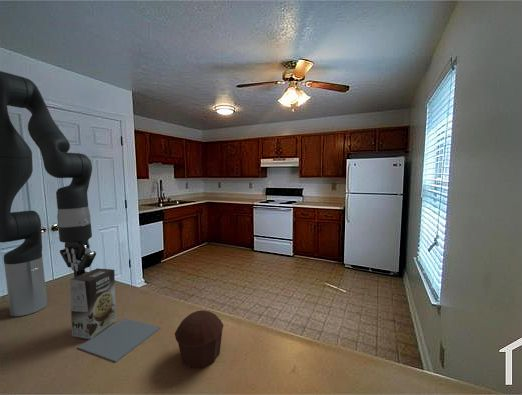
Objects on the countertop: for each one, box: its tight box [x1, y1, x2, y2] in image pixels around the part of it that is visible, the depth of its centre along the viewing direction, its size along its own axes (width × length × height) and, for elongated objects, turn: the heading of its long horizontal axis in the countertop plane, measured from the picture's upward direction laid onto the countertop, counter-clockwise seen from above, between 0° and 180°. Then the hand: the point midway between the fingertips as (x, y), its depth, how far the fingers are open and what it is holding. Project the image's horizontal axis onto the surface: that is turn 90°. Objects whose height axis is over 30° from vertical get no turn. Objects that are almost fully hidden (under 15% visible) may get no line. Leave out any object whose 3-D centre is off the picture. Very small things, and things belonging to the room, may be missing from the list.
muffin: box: [174, 310, 224, 369], centre depth 60 cm, size 12×11×10 cm
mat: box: [77, 317, 161, 363], centre depth 68 cm, size 14×14×1 cm
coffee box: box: [69, 268, 117, 340], centre depth 71 cm, size 9×6×16 cm
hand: (80, 281), depth 73 cm, fingers closed
